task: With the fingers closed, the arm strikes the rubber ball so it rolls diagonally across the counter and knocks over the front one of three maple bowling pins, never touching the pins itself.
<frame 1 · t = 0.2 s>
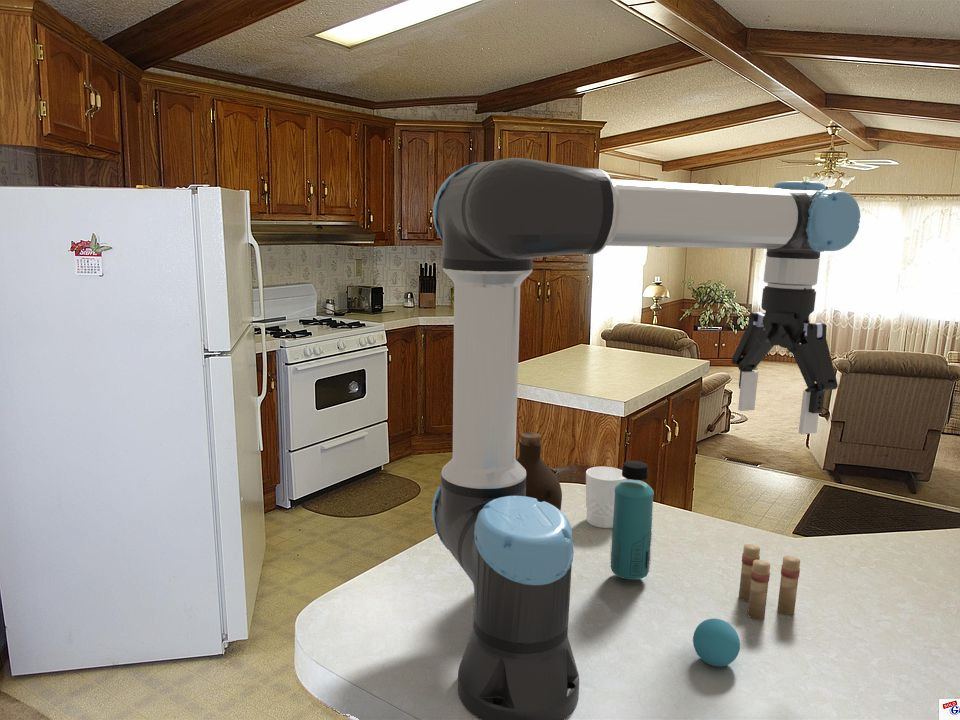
hand: (775, 421, 116), 28 cm above the kitchen counter, tool pointing down, fingers open, 13 cm apart
pin back right: (785, 610, 113), on the kitchen counter
beverage bottle: (628, 580, 121), on the kitchen counter
white cup: (603, 522, 144), on the kitchen counter
pin back left: (746, 597, 116), on the kitchen counter
ball: (716, 642, 98), on the kitchen counter
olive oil: (524, 584, 119), on the kitchen counter
pin front: (756, 615, 111), on the kitchen counter
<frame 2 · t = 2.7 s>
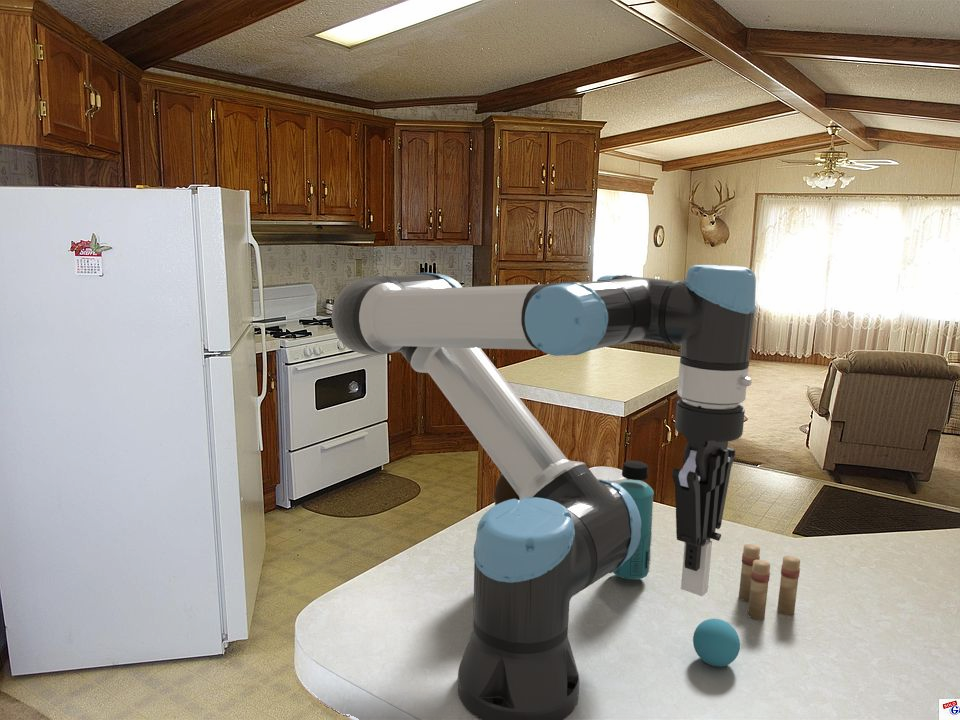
hand: (694, 590, 89), 14 cm above the kitchen counter, tool pointing down, fingers closed
nothing on the kitchen counter moved.
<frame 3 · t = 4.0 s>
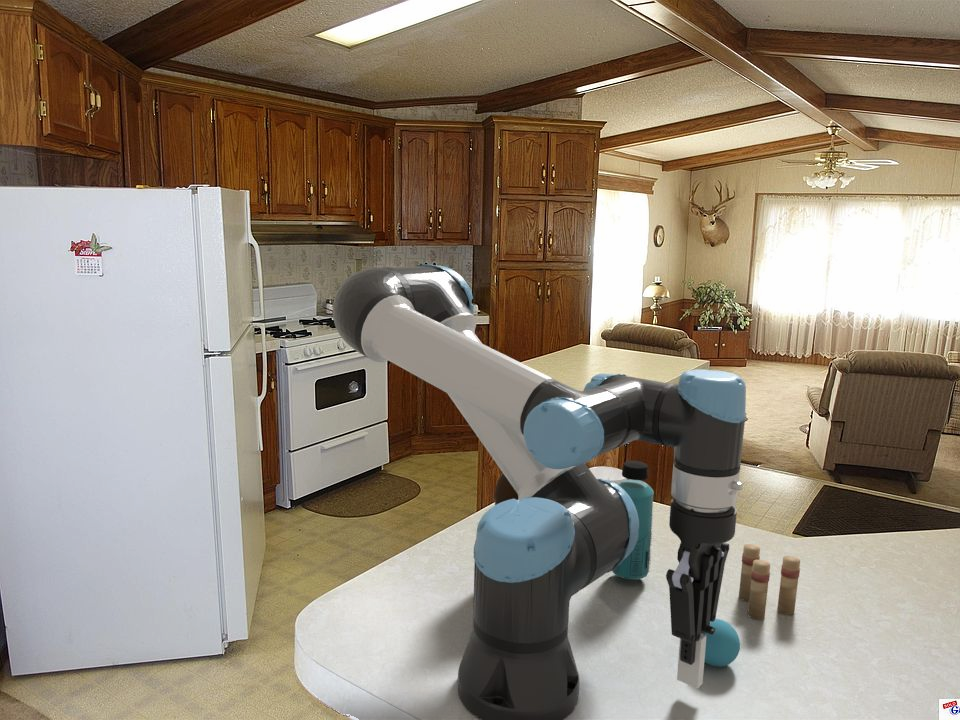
hand: (689, 681, 91), 2 cm above the kitchen counter, tool pointing down, fingers closed
nothing on the kitchen counter moved.
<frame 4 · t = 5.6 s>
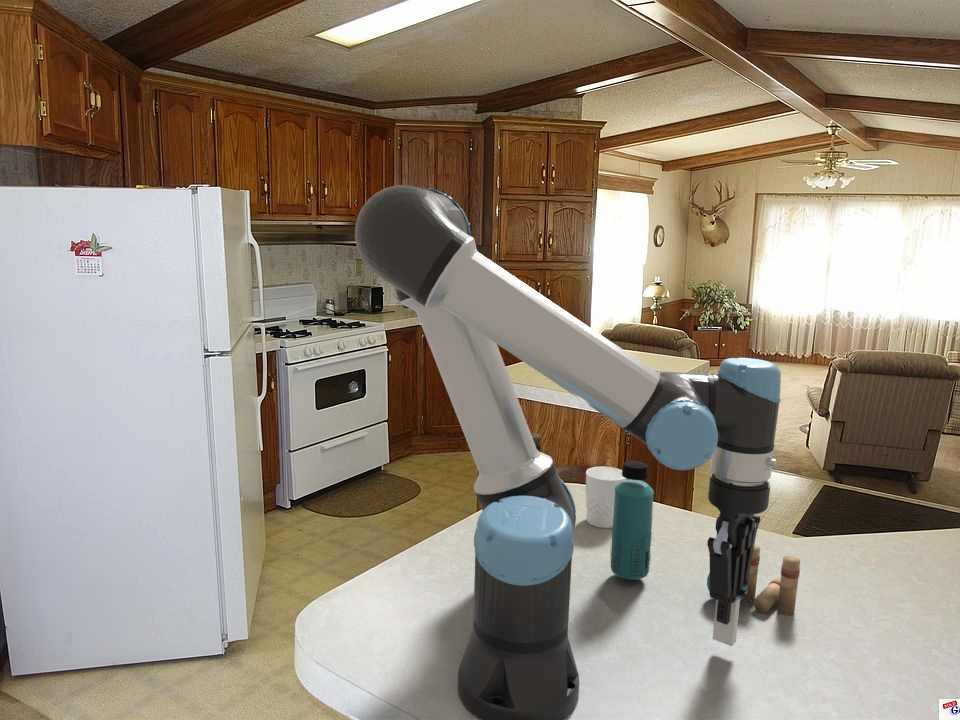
hand: (724, 640, 101), 2 cm above the kitchen counter, tool pointing down, fingers closed
ball: (727, 584, 114), on the kitchen counter
pin front: (760, 604, 112), point 1 cm above the kitchen counter, tilted 89°
everything else where it was.
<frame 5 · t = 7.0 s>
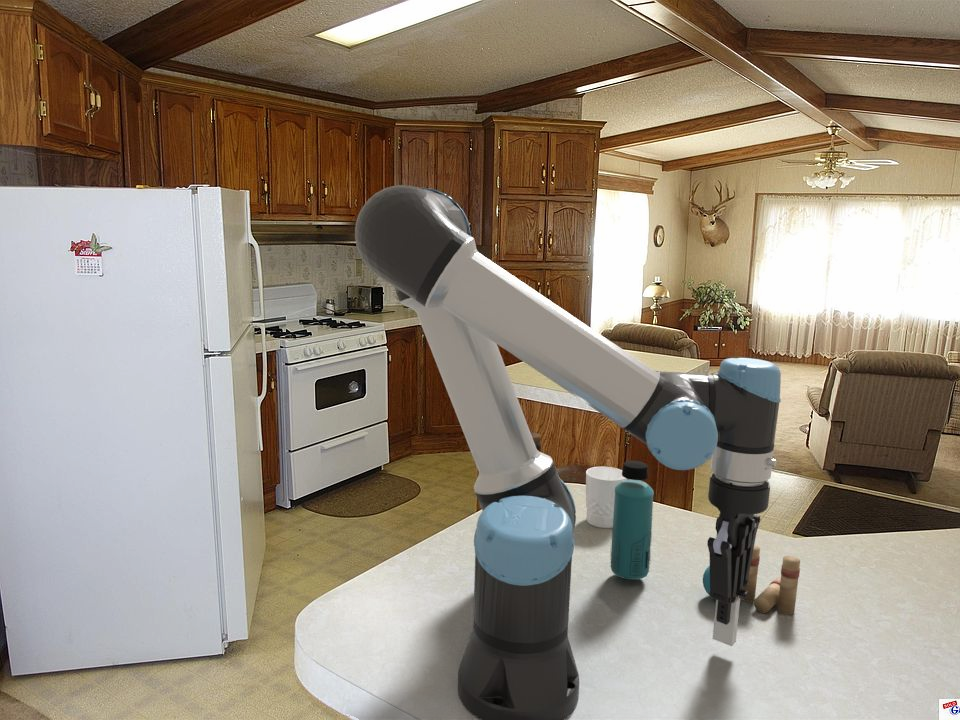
hand: (724, 640, 101), 2 cm above the kitchen counter, tool pointing down, fingers closed
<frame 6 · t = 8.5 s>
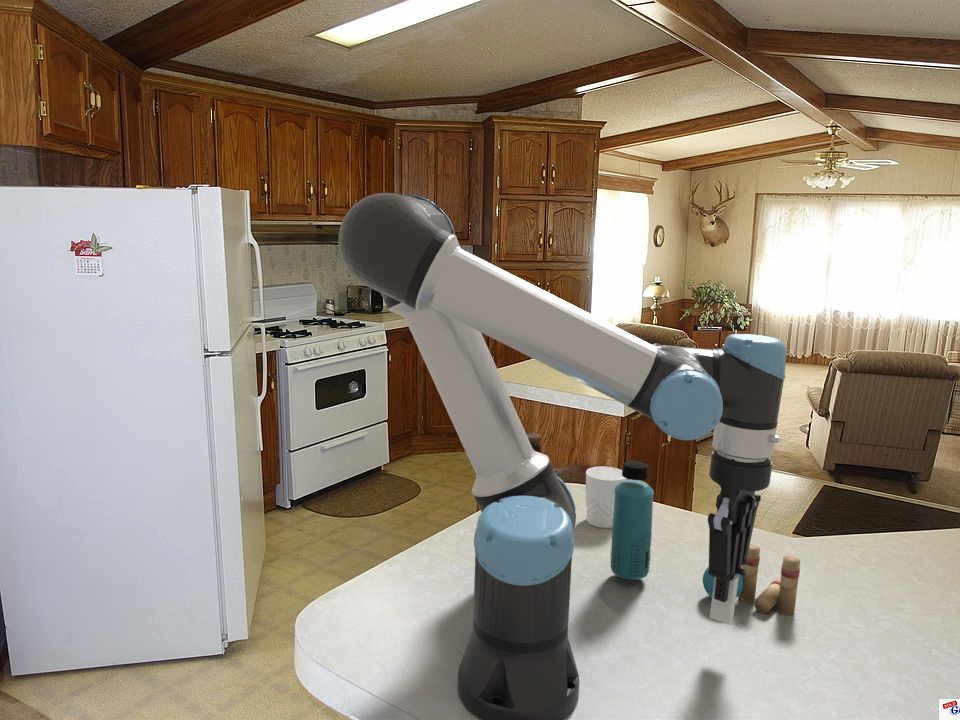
hand: (721, 618, 100), 5 cm above the kitchen counter, tool pointing down, fingers closed
nothing on the kitchen counter moved.
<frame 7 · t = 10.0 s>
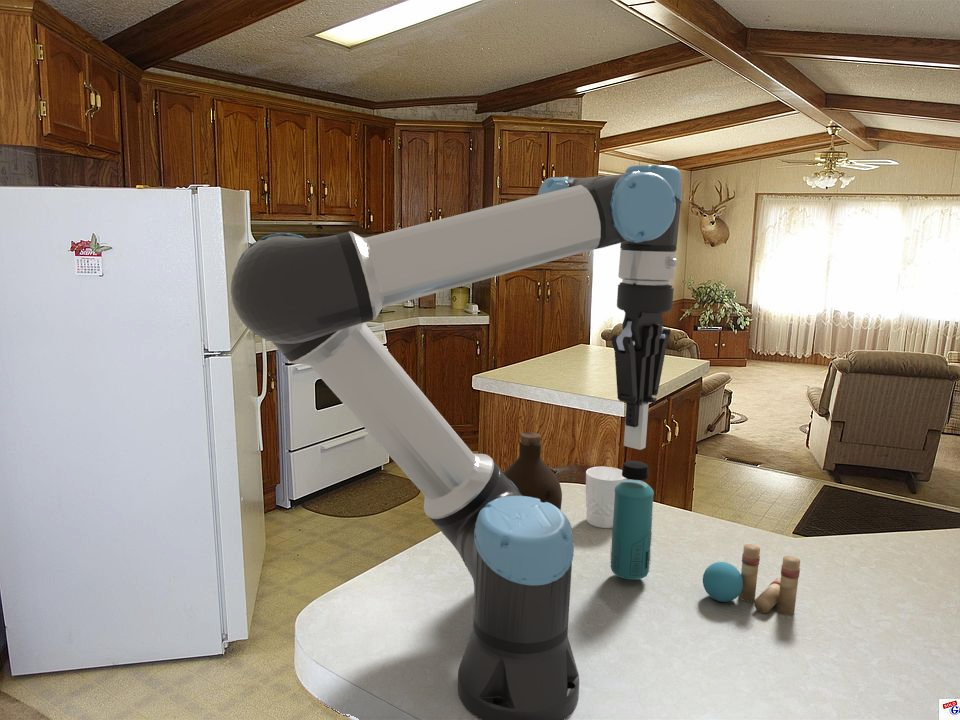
hand: (634, 446, 105), 26 cm above the kitchen counter, tool pointing down, fingers closed
nothing on the kitchen counter moved.
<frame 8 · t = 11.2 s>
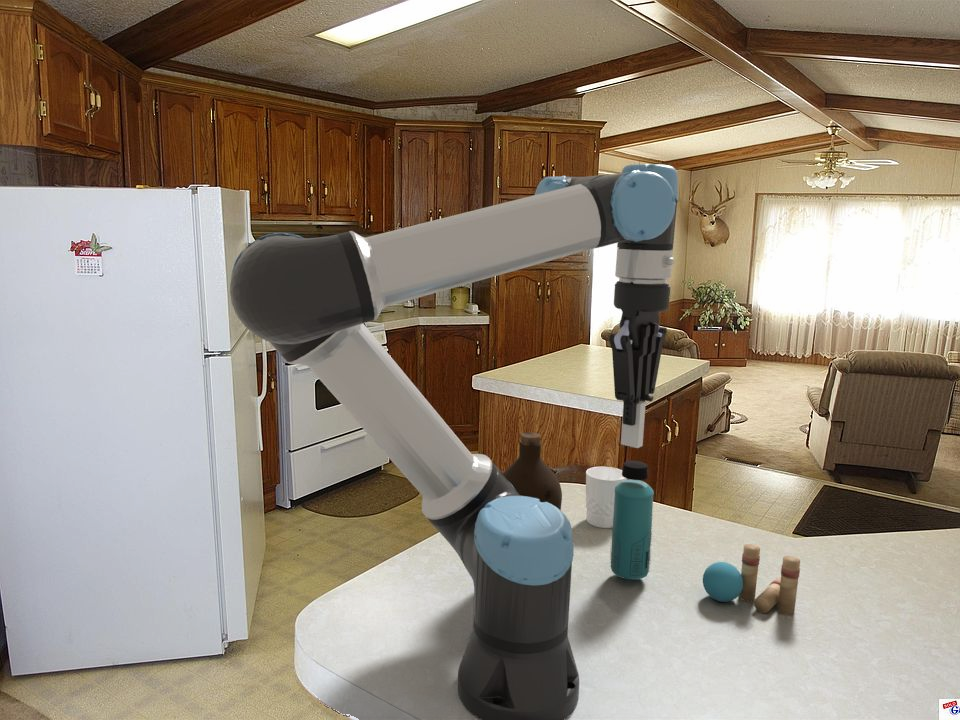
hand: (631, 444, 106), 26 cm above the kitchen counter, tool pointing down, fingers closed
nothing on the kitchen counter moved.
at the end: pin front tilted 89°; pin front never touched the robot; ball moved 18.1 cm from its start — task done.
